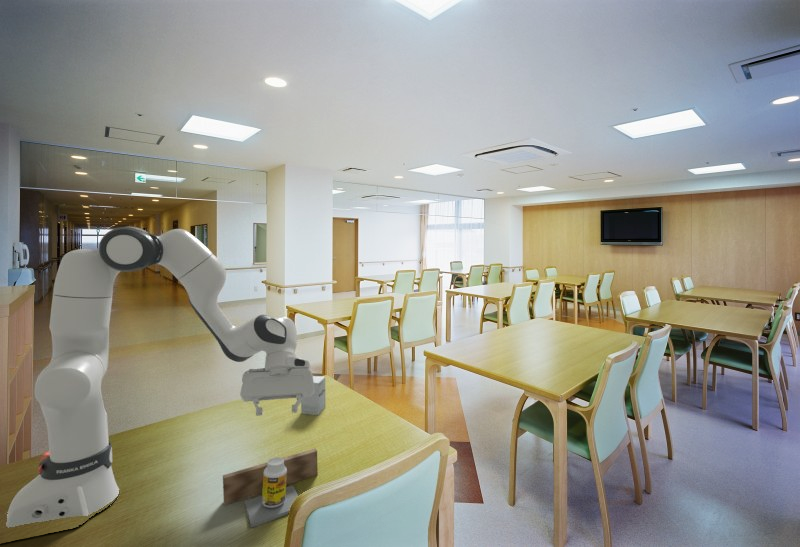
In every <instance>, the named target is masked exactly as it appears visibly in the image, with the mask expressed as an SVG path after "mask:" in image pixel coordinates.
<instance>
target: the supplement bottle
mask: <svg viewBox="0 0 800 547" xmlns="http://www.w3.org/2000/svg"><path fill="white" fill-rule="evenodd" d="M283 458H284V457H279V456H277V457H272V458H269V459H268V461H267V462H268V464H267V467H266V468H265V470H264V474H263V491H262V493H261V494H262V495H261V496H262V504H263V505H264V506H265V507H269V508H274V507H278V506H280V505H281V504H283V502H284V501H285V495H286V487H287V485H286V478H287V468H286V467H285V466H284V459H283Z"/></svg>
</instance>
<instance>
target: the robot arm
mask: <svg viewBox="0 0 800 547" xmlns="http://www.w3.org/2000/svg"><path fill="white" fill-rule="evenodd" d="M154 265H159V266H162V267H164V268H165V269H166V270H168V271H169V272H170V273H171V274H172V275H173V276H174V277H175V279H177V280H178V281H179V282H180V283H181V285H182V286H183V287H184V289H185V290H186V292H187V295H188V301H189V304H190V306H191V308H192V310H193V311H194V312H195V314H196V315H197V316H198V318H199V319H200V320H201V322H202V323H203V325H205V327H206V328H207V329H208V330H209V332H210V333H211V335H213V337H214V339H215V340H216V341H217V343H218V344H219V346H220V348H221V350H222V352H223V354H224V355H225V357H227V358H228V359H229V360H232V361H233V362H237V363H243V362H245V361H247V360H248V359H250V358H253V356H254V355H256V354H258V353H261V352H265V353H266V355H265V362H264V368H262V367H261V368H250V369H248V370H246V371H245V372H243V374H242V377H241V378H242V379H241V381H242V382H241V383H242V384H241V388H240V391H239V393H240V394H239V396H240V398H241V400H242V401H243V403H244V402H245V403H246V402H247V403H248V402H252V404H253V406H254V407H255V416H256V417H257V416H259V417H260V416H263V412H264V411H263V407H262V406H260V407H259V404H260V401H275V400H284V399H285V400H289V399H296V402H295V403H294V404H291V414H294V413H295V414H296V413H298V407H299V406H300V405H301V401H302V397H312V396H313V394H314V380H313V376H314V375H313V372H312V370H311V364H310V361H309V359H304V358H300V357H297V355H296V349H297V345H298V344H297V342H298V336H297V335H298V334H297V328H296V324H295V322H294V321H293V320H292V319H290V318H289V317H287V316H277V317H273V316H270V315H267V314H261V315H258V316H255V317H253V318H252V319H250V320H248V321H247V322H245V323H243V324H241V325H240V326H236V325H233V324H232V323H231V321H230V320H229V319H228V317H227V316H226V314H225V313H224V311H223V309H221V307H220V306H219V304H218V297H219V295H220V293H221V291H222V289H223V287H224V285H225V282H226V278H227V272H226V268H225V267H224V265H223V263H222V261H221V260H220V259H219V258H218V257H217V256H216V255H215V254H214V253H213V252H212V251H211V250H210V249H209V248H208V247H207V246H206V245H205V244H204V243H203V242H202V241H201V240H199V239H198V238H197V237H196V236H194V235H193V234H192V233H190V232H189V231H188V230H185V229H183V228H174V229H170V230H167V231H165V232H164V233H163V234H161V235H156V234H152V233H150V232H148V231H147V230H144V229H142V228H140V227H137V226H120V227H116V228H112V229H111V230H109V231H108V232H106V233H105V234H104V235H103V236H102V238H101V239H100V241H99V243H98V248H93V249H92V248H81V249H80V248H79V249H74V250H71V251H69V252H67V253H65V254H64V255H63V257H62V258H61V260H60V264H59V265H58V269H57V272H56V275H55V280H54V284H53V291H52V300H51V306H50V308H51V309H50V318H49V325H48V326H49V331H50V333H51V344H52V345H51V346H52V354H51V360H50V361H49V364H47V366H46V367H44V368H43V370H42V371H41V372H40V373H39V374H38V376H37V379H36V381H35V385H34V392H33V393H34V397H35V399H36V401H37V402H38V404H39V406H40V409H41V412H42V416H43V418H44V421H45V424H46V429H47V430H46V431H47V437H48V438H47V439H48V451H46V452H44V453H43V454H42V457H41V458H40V461H39V463H38V468H37V474H38V475H37V476H36V477H35V478H33V479H32V480H31V481H29V482H28V483H27V484H25V486H23V487H22V488H20V490H19V491H18V492H17V493H16V494H15V496H14V497H13V499H12V500H11V503H10V504H9V506H8V511H7V513H8V514H7V522H6V526H7V527H8V528H9V527H15V526H19V525H24V524H30V523H35V522H42V521H43V522H44V521H49V520H55V519H60V518H66V517H75V516H88V515H90V514H92V513H93V512H96V511H98V510H99V509H101V508H103V507H104V506H106V505H107V504H109V503H110V502H112V501H113V500H114V499H115V498H116V497H117V496H118V494H119V490H120V488H119V486H118V484H117V481H116V479H115V476H114V472H113V467H112V464H113V447H112V443H111V441H110V439H109V426H108V413H107V410H106V409H105V408H106V407H105V405H104V404H105V403H104V400H103V394H102V381H103V378H104V377H105V375H106V373H107V370H108V367H109V352H110V323H111V322H110V321H111V313H112V304H113V292H114V284H115V280H116V278H117V276H118V275H119V274H120V273H121V272H123V273H124V272H126V273H130V272H132V273H133V272H137V271H141V270H143V269H145V268H148V267H152V266H154Z"/></svg>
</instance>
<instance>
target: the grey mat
mask: <svg viewBox="0 0 800 547" xmlns="http://www.w3.org/2000/svg"><path fill="white" fill-rule="evenodd" d="M297 496H299V494H298V493H297V490H296V489H295V486H294V485H290V486H286V495H285V501H284V502H283V504H281V505H280V506H278V507H274V508H269V507H265V506H264V505H263V504H262V495H258V496H257V497H253V498H250V499H247V500H245V501H244V505H245V509H246V513H247V516H248V520H249V523H250V528H255V527H257V526H259V525H262V524H265V523H268V522H270V521H273V520H276V519H279V518H282V517H284V516H286V515H289V514H288V513H289V509H290V506H291V504H292V502H293V501H294V499H295V498H296V497H297Z"/></svg>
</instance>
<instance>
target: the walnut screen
mask: <svg viewBox="0 0 800 547" xmlns="http://www.w3.org/2000/svg"><path fill="white" fill-rule="evenodd" d="M282 458H283V459H284V466H285V467H286V468H287V478H286V486H287V485H291V484H294V483H297V482H299V481H302V480H305V479H309V478H312V477H314V476H318V472H319V471H318V468H319V467H318V450H317V449H316V448H312V449H308V450H306V451H302V452H299V453H296V454H292V455H289V456H285V457H282ZM267 464H268V461H267V462H264V463H261V464H257V465H254V466H250V467H247V468H244V469H243V468H242V469H240V470H236V471H233V472H230V473H227V474H223V475H222V490H223V505H224V506H227V505H229V504H232V503H235V502H239V501H241V500H244V499H247V498H251V497H254V496H256V495H260V494H262V491H263V474H264V470H265V468H266V467H267Z"/></svg>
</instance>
